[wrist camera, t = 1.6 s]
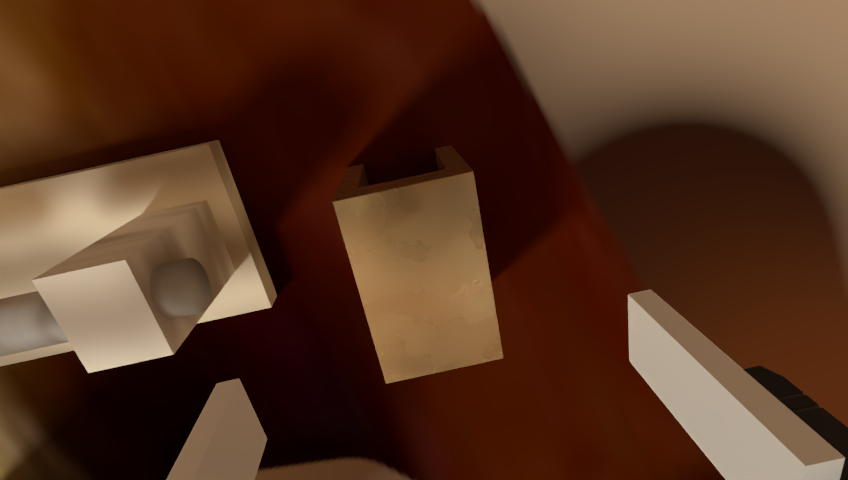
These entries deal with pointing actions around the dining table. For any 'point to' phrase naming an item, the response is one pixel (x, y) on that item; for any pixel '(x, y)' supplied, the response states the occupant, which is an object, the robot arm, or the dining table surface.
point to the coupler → (421, 267)
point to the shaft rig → (125, 258)
